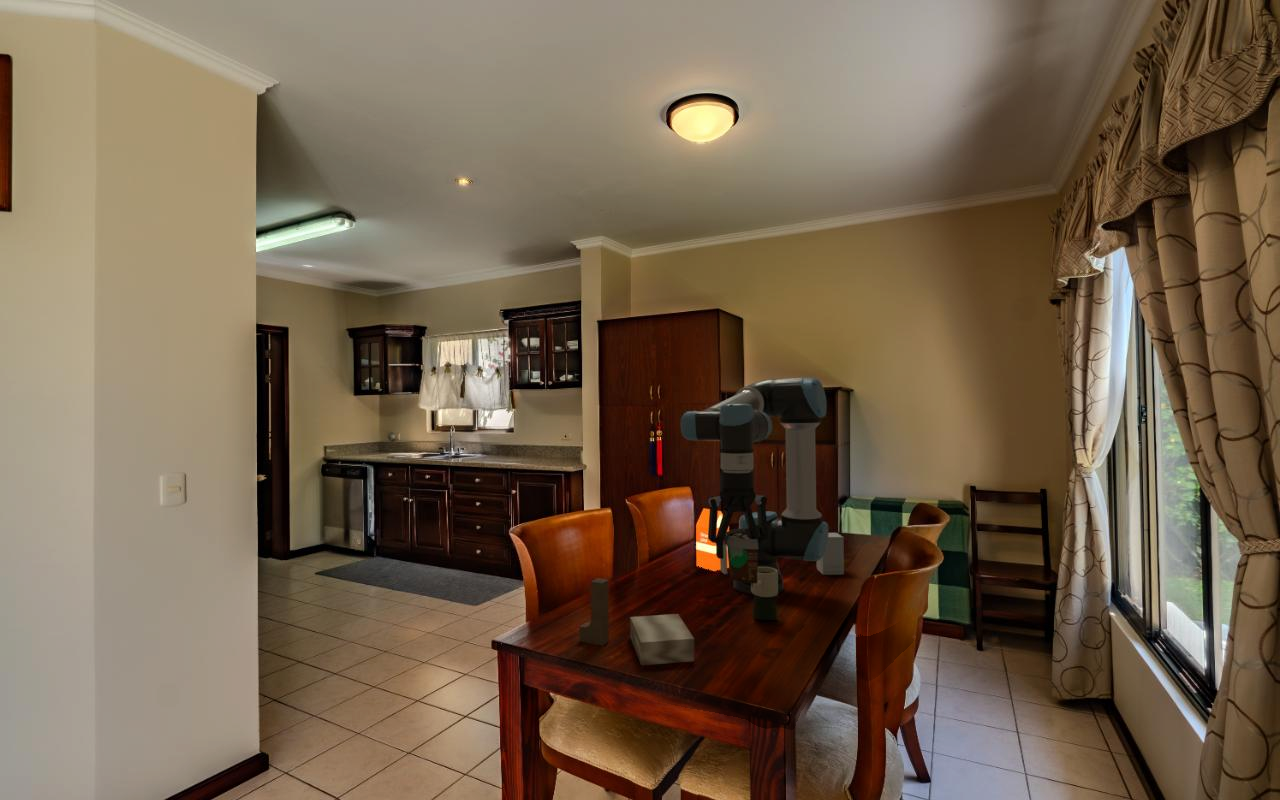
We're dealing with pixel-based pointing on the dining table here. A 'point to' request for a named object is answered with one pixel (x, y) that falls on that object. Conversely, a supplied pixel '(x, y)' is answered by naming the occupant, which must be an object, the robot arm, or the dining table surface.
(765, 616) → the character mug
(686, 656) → the birch block
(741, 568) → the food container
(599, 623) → the wooden block
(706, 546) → the orange juice
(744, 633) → the dining table surface
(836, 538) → the supplement box
